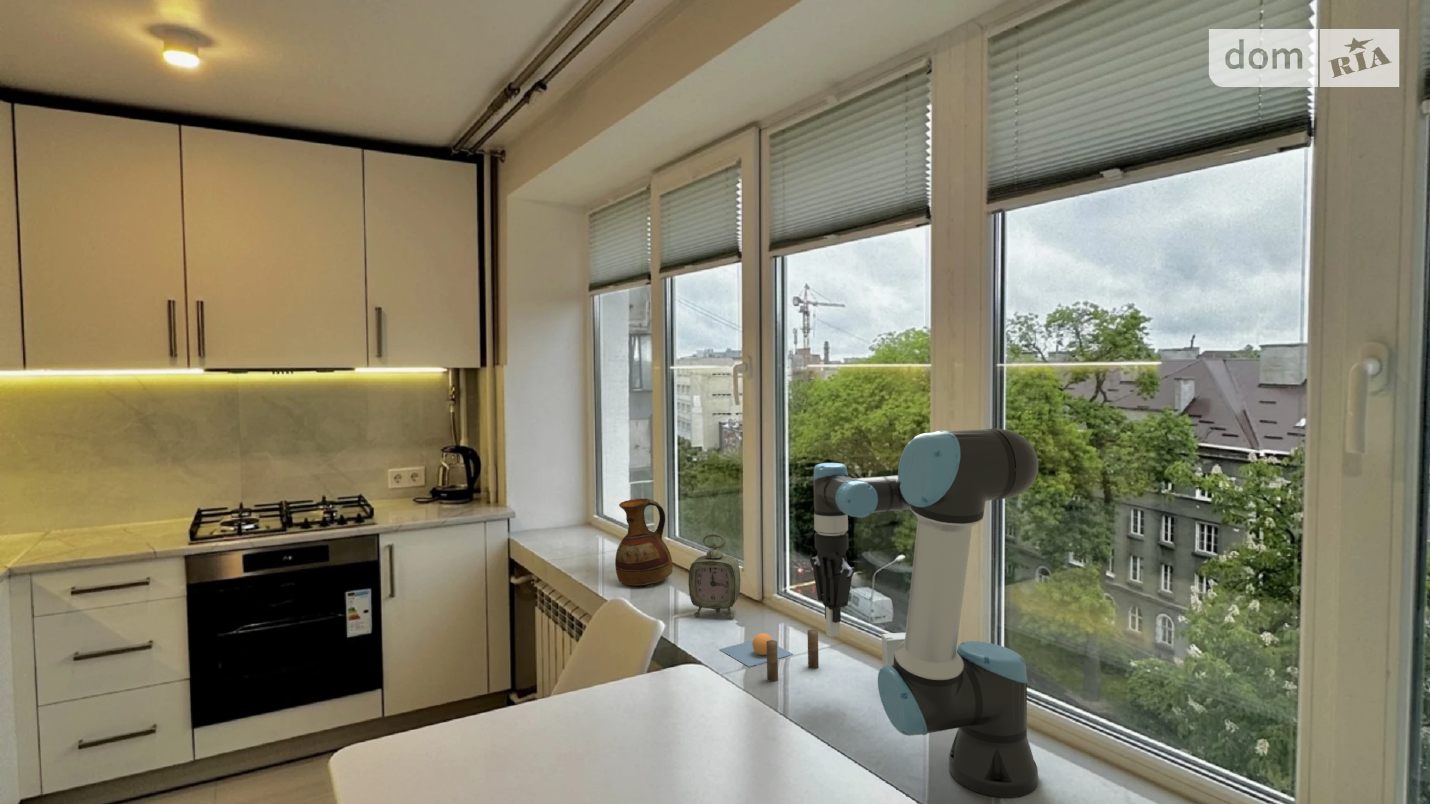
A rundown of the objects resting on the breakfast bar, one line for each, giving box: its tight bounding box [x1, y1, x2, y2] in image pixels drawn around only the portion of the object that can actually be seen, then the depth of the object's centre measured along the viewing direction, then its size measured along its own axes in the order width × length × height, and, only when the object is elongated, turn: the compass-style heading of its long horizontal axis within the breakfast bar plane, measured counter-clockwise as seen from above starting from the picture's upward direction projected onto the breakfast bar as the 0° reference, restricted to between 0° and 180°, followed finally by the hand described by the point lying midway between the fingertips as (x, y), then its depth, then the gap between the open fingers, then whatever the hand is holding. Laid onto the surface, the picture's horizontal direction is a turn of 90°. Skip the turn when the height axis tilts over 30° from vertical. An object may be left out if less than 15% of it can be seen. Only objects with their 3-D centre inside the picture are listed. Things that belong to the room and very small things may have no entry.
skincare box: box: [881, 632, 906, 668], centre depth 170 cm, size 6×4×12 cm
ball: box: [752, 632, 773, 656], centre depth 191 cm, size 6×6×6 cm
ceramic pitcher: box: [614, 497, 673, 586], centre depth 260 cm, size 20×20×30 cm
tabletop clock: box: [688, 533, 742, 620], centre depth 223 cm, size 14×9×25 cm, turn 76°
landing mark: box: [718, 640, 794, 668], centre depth 193 cm, size 14×14×1 cm
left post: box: [766, 639, 779, 682], centre depth 176 cm, size 3×3×9 cm
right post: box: [807, 628, 820, 670], centre depth 183 cm, size 3×3×9 cm
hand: (833, 634), depth 166 cm, fingers closed
